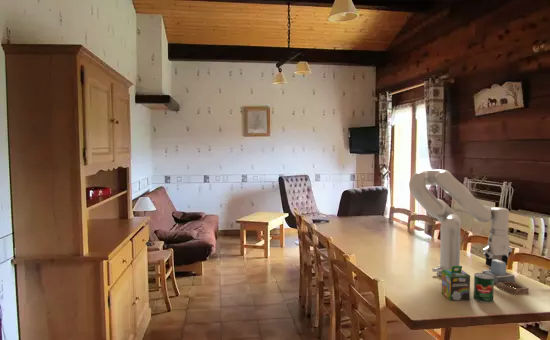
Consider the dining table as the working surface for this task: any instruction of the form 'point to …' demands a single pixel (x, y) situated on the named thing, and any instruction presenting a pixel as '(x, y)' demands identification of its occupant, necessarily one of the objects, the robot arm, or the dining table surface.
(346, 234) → the dining table surface
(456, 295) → the chalk box
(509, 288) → the brown rectangular tray
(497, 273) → the light blue block
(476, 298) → the canned tomato
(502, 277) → the port
